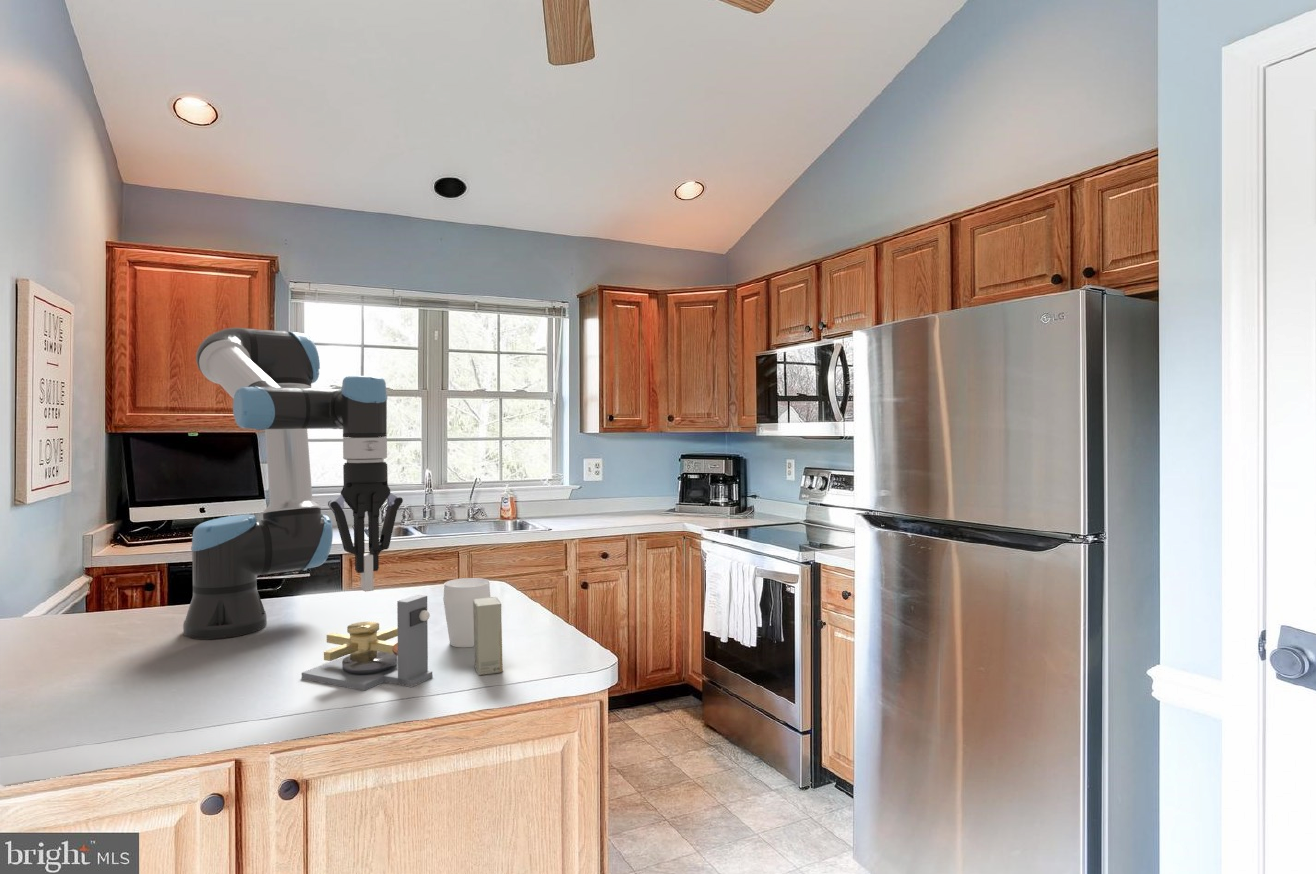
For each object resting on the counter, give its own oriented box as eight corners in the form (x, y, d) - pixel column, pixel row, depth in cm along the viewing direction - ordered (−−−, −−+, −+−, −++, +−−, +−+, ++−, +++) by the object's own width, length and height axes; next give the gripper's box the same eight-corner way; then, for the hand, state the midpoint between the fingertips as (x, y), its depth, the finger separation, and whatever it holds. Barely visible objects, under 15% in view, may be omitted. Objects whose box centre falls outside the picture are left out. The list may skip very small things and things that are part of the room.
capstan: (292, 671, 128) (291, 632, 128) (363, 645, 143) (363, 610, 142) (369, 686, 121) (368, 644, 121) (435, 657, 136) (435, 620, 136)
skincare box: (503, 673, 132) (502, 604, 131) (477, 676, 130) (476, 606, 130) (497, 662, 137) (497, 595, 137) (472, 664, 136) (472, 598, 136)
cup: (478, 651, 144) (478, 588, 143) (435, 648, 145) (434, 586, 145) (497, 637, 152) (497, 578, 152) (456, 634, 154) (456, 576, 154)
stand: (301, 678, 129) (300, 597, 128) (363, 654, 141) (363, 580, 141) (394, 696, 120) (394, 609, 120) (451, 669, 133) (451, 591, 133)
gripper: (332, 463, 130) (334, 598, 131) (407, 460, 138) (409, 588, 139) (322, 461, 136) (324, 591, 137) (395, 459, 144) (396, 581, 145)
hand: (367, 589), depth 138 cm, fingers closed
